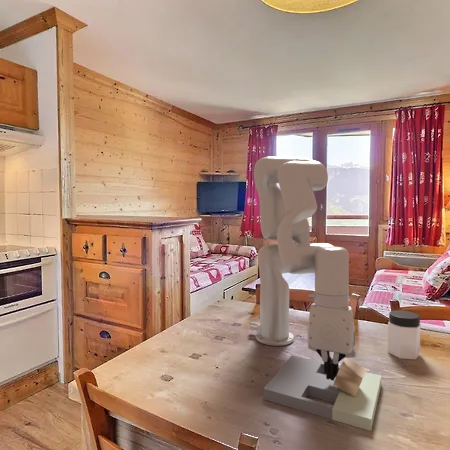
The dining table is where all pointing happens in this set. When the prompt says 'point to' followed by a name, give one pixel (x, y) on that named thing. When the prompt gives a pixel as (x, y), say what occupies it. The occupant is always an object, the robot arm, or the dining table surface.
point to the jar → (404, 334)
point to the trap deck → (323, 393)
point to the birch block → (349, 377)
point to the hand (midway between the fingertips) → (331, 377)
